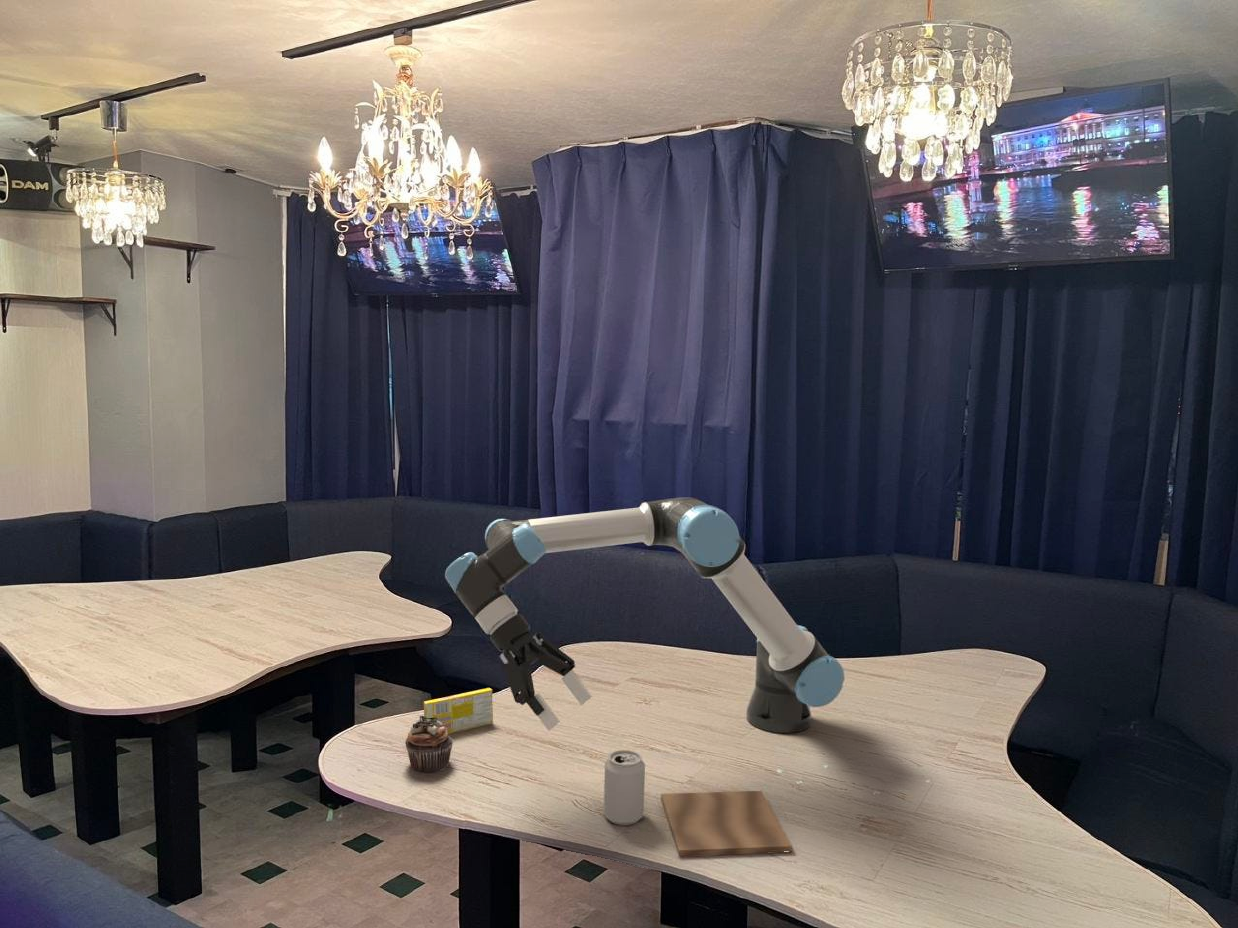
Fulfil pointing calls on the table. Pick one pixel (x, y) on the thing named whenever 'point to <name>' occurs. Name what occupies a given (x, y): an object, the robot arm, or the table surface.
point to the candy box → (462, 710)
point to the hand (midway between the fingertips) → (571, 713)
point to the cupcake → (428, 745)
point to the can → (624, 787)
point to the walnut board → (723, 823)
